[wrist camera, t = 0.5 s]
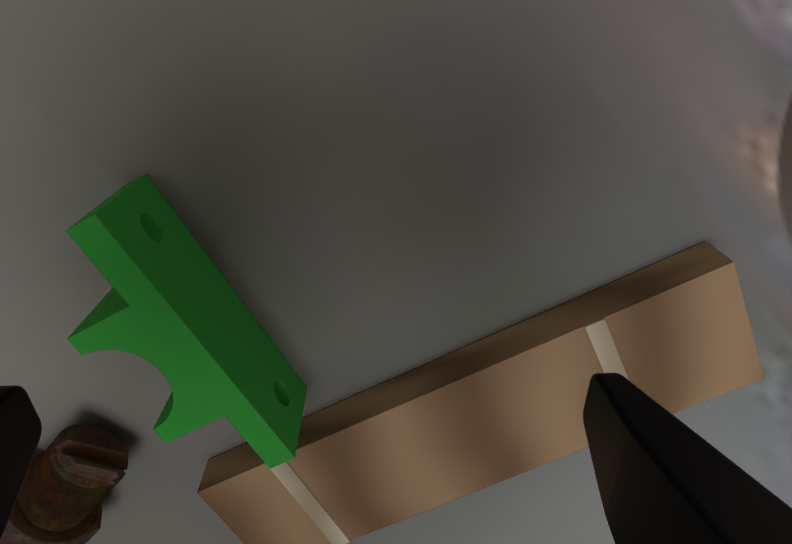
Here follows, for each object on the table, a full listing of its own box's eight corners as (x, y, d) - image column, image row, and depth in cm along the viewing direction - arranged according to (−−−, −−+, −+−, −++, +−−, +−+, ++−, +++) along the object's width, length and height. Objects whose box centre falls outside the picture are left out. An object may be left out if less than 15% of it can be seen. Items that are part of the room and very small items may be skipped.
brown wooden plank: (276, 536, 29) (270, 573, 27) (208, 459, 27) (196, 494, 25) (736, 350, 25) (765, 379, 24) (705, 241, 23) (735, 262, 21)
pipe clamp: (70, 217, 22) (-2, 267, 18) (148, 171, 21) (93, 212, 17) (238, 418, 26) (213, 496, 22) (307, 386, 26) (295, 460, 21)
